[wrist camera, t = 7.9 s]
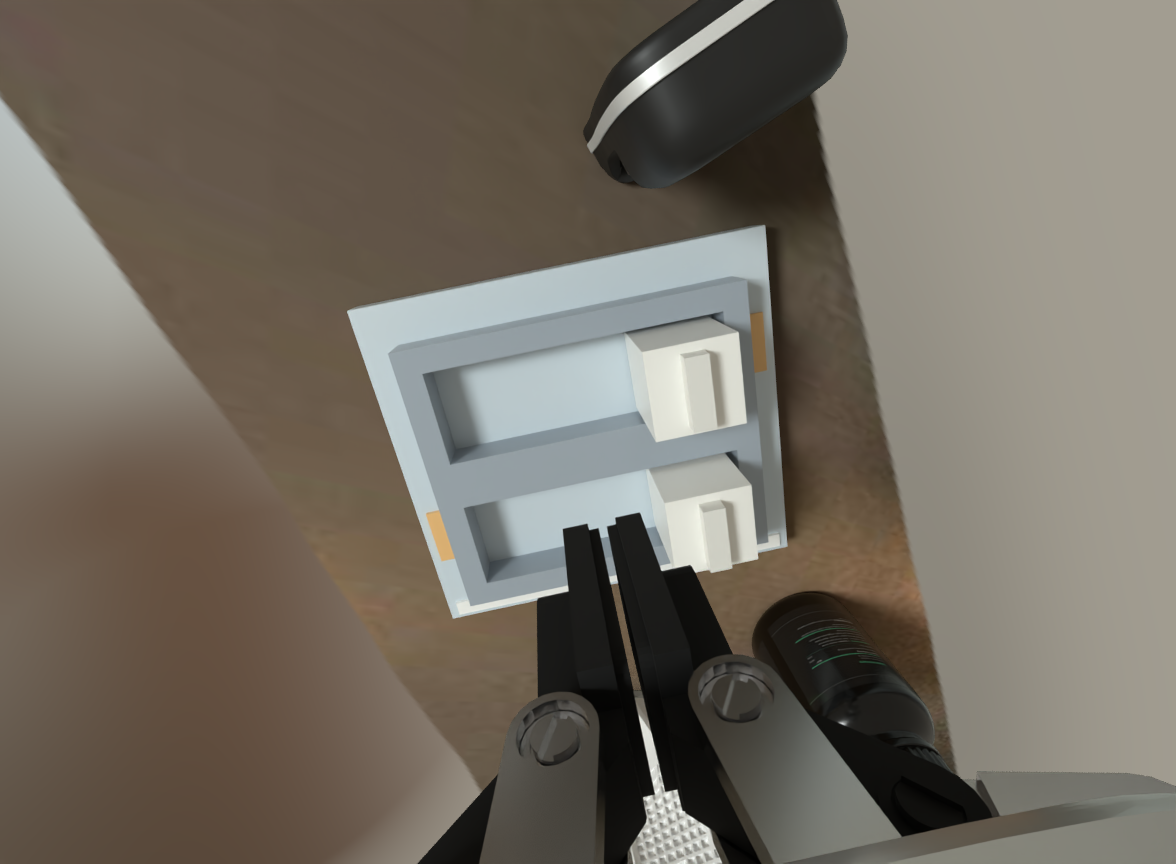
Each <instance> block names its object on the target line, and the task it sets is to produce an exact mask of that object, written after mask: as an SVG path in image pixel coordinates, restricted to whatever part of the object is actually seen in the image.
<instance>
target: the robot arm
mask: <svg viewBox="0 0 1176 864" xmlns="http://www.w3.org/2000/svg"><path fill="white" fill-rule="evenodd" d="M615 521H616V524H615V525H610V526H607V531H608V536H609V541H610V546H611V551H612V556H613V560H614V565H615V570H616V575H617V580H618V585H619V590H620V595H621V600H622V605H623V610H624V614H625V619H626V624H627V629H628V634H629V638H630V643H631V647H632V651H633V656H634V660H635V664H636V669H637V673H638V677H639V682H640V686H641V690H642V695H643V699H644V703H645V708H646V712H647V716H648V721H649V725H650V729H651V733H652V738H653V742H654V746H655V751H656V755H657V759H658V764H659V768H660V772H661V777H662V781H663V785H664V789H665V792H669V791H673V790H677V792H678V796H679V800H680V804H681V807H682V811H685V813H686V814H688V815H689V816H691V817H692V818H694V819H695V820H697V821H699V822H700V823H702V824H703V825H705V826H706V827H708V828H709V829H710V833H711V836H712V840H713V843H714V846H715V848H716V850H717V852H718V855H719V857H720V859H721V861H722V864H1176V786H1174V785H1171V784H1168V783H1166V782H1163V781H1160V780H1158V779H1155V778H1153V777H1149V776H1143V775H1136V774H1130V773H1072V772H986V771H978V772H977V779H976V780H962V779H961V778H960V777H959V776H957V775H955V774H953V773H952V772H950V771H948V770H946V769H944V768H943V767H941V766H939V765H937V764H934V763H932V762H930V761H927V760H925V759H922V758H920V757H918V756H915V755H913V754H911V753H908V752H906V751H904V750H901V749H899V748H897V747H894V746H892V745H890V744H887V743H885V742H883V741H880V740H878V739H875V738H873V737H871V736H868V735H866V734H864V733H861V732H859V731H857V730H854V729H852V728H850V727H847V726H845V725H843V724H840V723H838V722H836V721H833V720H831V719H828V718H826V717H824V716H821V715H819V714H817V713H814V712H812V711H810V710H807V709H805V708H803V707H802V705H801V704H800V703H799V701H798V700H797V699H796V698H795V696H794V695H793V694H792V692H791V691H790V690H789V688H788V687H787V686H786V684H785V683H784V682H783V680H782V679H781V678H780V677H779V675H778V674H777V673H776V672H775V671H774V670H773V669H772V668H771V667H770V666H769V665H767V664H765V663H763V662H761V661H760V660H758V659H756V658H752V657H749V656H745V655H733V654H732V651H731V649H730V647H729V645H728V643H727V641H726V638H725V636H724V634H723V632H722V630H721V628H720V625H719V623H718V621H717V619H716V617H715V615H714V612H713V610H712V608H711V606H710V604H709V602H708V599H707V597H706V595H705V593H704V591H703V589H702V586H701V584H700V582H699V580H698V578H697V576H696V573H695V571H694V569H693V568H692V566H691V565H688V566H683V567H678V568H674V569H669V570H665V571H661V568H660V565H659V563H658V560H657V557H656V554H655V552H654V549H653V546H652V544H651V541H650V538H649V535H648V533H647V530H646V527H645V525H644V522H643V519H642V516H641V514H640V512H639V513H634V514H629V515H625V516H620V517H615ZM563 539H564V550H565V560H566V570H567V581H568V592H563V593H558V594H554V595H549V596H544V597H540V598H538V599H537V653H538V698H536V699H534V700H532V701H531V702H529V703H528V704H527V705H526V706H525V707H523V708H522V709H521V710H520V711H519V712H518V714H517V715H516V716H515V718H514V719H513V720H512V722H511V724H510V727H509V730H508V732H507V735H506V740H505V744H504V749H503V754H502V758H501V763H500V768H499V773H498V775H497V776H496V777H495V778H494V779H493V780H492V781H491V783H490V784H489V785H488V786H487V787H486V788H485V789H484V790H483V791H482V793H481V794H480V795H479V796H478V797H477V798H476V799H475V800H474V802H473V803H472V804H471V805H470V806H469V807H468V808H467V810H465V812H464V813H463V814H462V815H461V816H460V817H459V818H458V819H457V820H456V822H455V823H454V824H453V825H452V826H451V827H450V828H449V829H448V830H447V832H446V833H445V834H444V835H443V836H442V837H441V838H440V839H439V840H438V842H437V843H436V844H435V845H434V846H433V847H432V848H431V849H430V850H429V851H428V853H427V854H426V855H425V856H424V857H423V858H422V859H421V860H420V862H419V863H418V864H633V858H632V852H631V846H632V844H633V843H634V841H635V839H636V838H637V836H638V835H639V833H640V831H641V830H642V828H643V827H644V825H645V824H646V820H647V815H646V810H645V805H644V800H643V797H647V796H651V795H655V792H654V787H653V782H652V777H651V772H650V768H649V763H648V758H647V753H646V749H645V744H644V739H643V734H642V730H641V725H640V720H639V715H638V711H637V706H636V701H635V696H634V691H633V687H632V682H631V677H630V672H629V668H628V663H627V658H626V654H625V649H624V644H623V640H622V635H621V630H620V626H619V621H618V616H617V611H616V607H615V602H614V597H613V593H612V588H611V583H610V579H609V574H608V569H607V565H606V560H605V555H604V551H603V546H602V541H601V537H600V532H599V528H596V529H592V530H589V528H588V524H583V525H578V526H573V527H569V528H564V529H563Z"/></svg>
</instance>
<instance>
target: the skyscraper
mask: <svg viewBox="0 0 1176 864" xmlns="http://www.w3.org/2000/svg"><path fill="white" fill-rule="evenodd" d="M633 691H634V696H635V701H636V706H637V711H638V715H639V720H640V725H641V730H642V734H643V739H644V744H645V749H646V753H647V758H648V763H649V768H650V772H651V777H652V782H653V787H654V792H655V795H651V796H647V797H643V800H644V805H645V810H646V815H647V820H646V824H645V825H644V827H643V828H642V830H641V831H640V833H639V835H638V836H637V838H636V839H635V841H634V843H633V844H632V846H631V852H632V858H633V864H722V861H721V859H720V857H719V855H718V852H717V850H716V848H715V846H714V843H713V840H712V836H711V833H710V829H709V828H708V827H706V826H705V825H703V824H702V823H700V822H699V821H697V820H695V819H694V818H692V817H691V816H689V815H688V814H686V813H685V811H682V807H681V804H680V800H679V796H678V792H677V790H673V791H669V792H665V789H664V785H663V781H662V777H661V772H660V768H659V764H658V759H657V755H656V751H655V746H654V742H653V738H652V733H651V729H650V725H649V721H648V716H647V712H646V708H645V703H644V699H643V695H642V691H635V690H633Z"/></svg>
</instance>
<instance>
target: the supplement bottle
mask: <svg viewBox="0 0 1176 864" xmlns="http://www.w3.org/2000/svg"><path fill="white" fill-rule="evenodd" d="M752 649H753V654H754V657H755V658H756V659H758V660H760V661H761V662H763V663H765V664H767V665H769V666H770V667H771V668H772V669H773V670H774V671H775V672H776V673H777V674H778V675H779V677H780V678H781V679H782V680H783V682H784V683H785V684H786V686H787V687H788V688H789V690H790V691H791V692H792V694H793V695H794V696H795V698H796V699H797V700H798V701H799V703H800V704H801V705H802V707H803V708H805V709H807V710H810V711H812V712H814V713H817V714H819V715H821V716H824V717H826V718H828V719H831V720H833V721H836V722H838V723H840V724H843V725H845V726H847V727H850V728H852V729H854V730H857V731H859V732H861V733H864V734H866V735H868V736H871V737H873V738H875V739H878V740H880V741H883V742H885V743H887V744H890V745H892V746H894V747H897V748H899V749H901V750H904V751H906V752H908V753H911V754H913V755H915V756H918V757H920V758H922V759H925V760H927V761H930V762H932V763H934V764H937V765H939V766H941V767H943V768H944V769H946V770H948V771H950V772H952V771H951V770H950V768H949V767H948V766H947V765H946V763H945V761H944V759H943V757H942V756H941V754H940V753H939V752H938V751H937V749H936V748H935V747H934V746H933V745H934V739H935V730H934V724H933V720H932V717H931V714H930V712H929V710H928V708H927V707H926V705H925V704H924V702H923V701H922V700H921V698H920V697H919V696H918V695H917V693H916V692H915V691H914V690H913V688H912V687H911V686H910V685H909V684H908V682H907V681H906V680H905V679H904V677H903V676H902V675H901V674H900V673H899V671H898V670H897V669H896V668H895V666H894V665H893V664H892V663H891V662H890V660H889V659H888V658H887V657H886V655H885V654H884V653H883V652H882V651H881V649H880V648H879V647H878V646H877V645H876V643H875V642H874V641H873V640H872V638H871V637H870V636H869V635H868V634H867V632H866V631H865V630H864V629H863V627H862V626H861V625H860V624H859V623H858V621H857V620H856V619H855V618H854V617H853V615H852V614H851V613H850V612H849V611H848V610H847V609H846V607H845V606H844V605H843V604H841V603H840V602H839V601H837V600H836V599H834V598H832V597H830V596H827V595H824V594H819V593H801V594H796V595H792V596H789V597H787V598H784V599H782V600H780V601H778V602H777V603H775V604H774V605H773V606H771V607H770V608H769V609H768V610H767V611H766V612H765V613H764V614H763V615H762V616H761V618H760V619H759V621H758V623H757V624H756V627H755V629H754V632H753V637H752ZM952 773H953V772H952Z"/></svg>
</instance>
